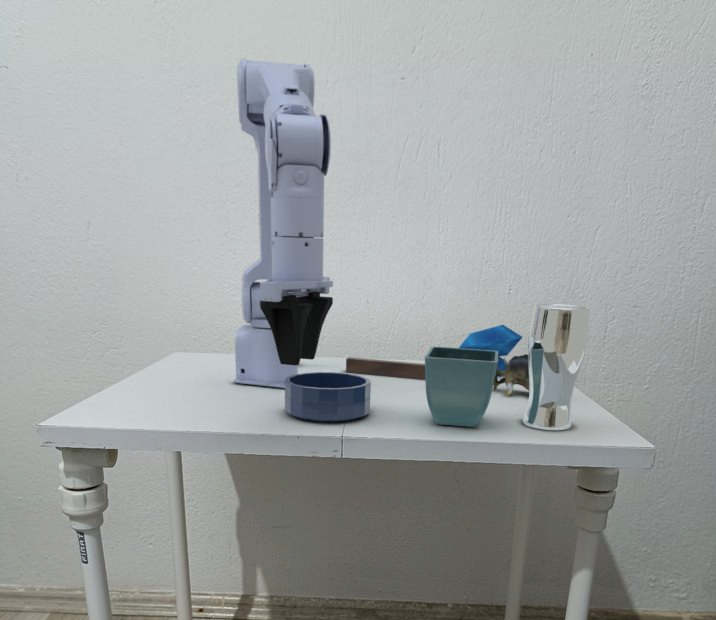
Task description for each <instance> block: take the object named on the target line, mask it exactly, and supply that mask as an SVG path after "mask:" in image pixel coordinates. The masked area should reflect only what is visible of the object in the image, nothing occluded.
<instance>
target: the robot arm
mask: <svg viewBox="0 0 716 620" xmlns="http://www.w3.org/2000/svg"><path fill="white" fill-rule="evenodd" d="M236 69H237V70H236V71H237V73H236V77H237V78H236V80H237V81H236V83H237V88H236V89H237V107H238V122H239V124H240V130H241V131H243V132H244V133H246V134H247V135H249V136H251V137H252V138H253V142H254V145H255V148H256V152H257V177H258V179H257V181H258V184H257V185H258V224H259V225H258V228H259V229H258V231H259V232H258V233H259V234H258V235H259V237H258V238H259V258H258V259H257V260H256V261H254V262H253V263H252V264H251V265H249V266H247V267H246V269H244V272H243V274H242V276H241V279H242V281H241V282H242V284H241V312H242V320H243V321H244V322H245V323H246V324H242V325H241V326H240V327H239V328H238V329H237V331H236V335H235V339H234V350H235V351H234V354H235V355H234V357H235V379H233V383H235V384H243V385H244V384H245V385H253V386H262V387H272V388H280V389H281V388H282V389H285V378H286V377H289V376H291V375H295V374H299V365H300V362H301V360H311V361H312V360H314V359H315V357H316V354H317V351H318V346H319V342H320V337H321V332H322V329H323V326H324V323H325V321H326V318H327V316H328V313H329V311H330V309H331V308H332V306H333V302H334V298H333V297H332V296H321V294H322V295H329V294H330V288H333V286H334V281H333V280H331V279H330V277H329V276H324V236H325V235H324V227H325V225H324V224H325V221H324V220H325V177H326V176H327V174H328V173H329V172H328V171H329V166H330V161H331V153H332V135H331V134H332V133H331V127H330V121H329V117H328V115H327V114H325V113H324V114H319V115H317V114H316V113H315V110H314V103H315V73H314V70H313V68H312V67H311V65H310V64H309V63H304V64H297V63H285V62H274V61H273V62H271V61H262V60H247V59H246V58H240V60H239V61H238V63H237V67H236ZM260 280H265V281H260Z"/></svg>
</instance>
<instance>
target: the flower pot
mask: <svg viewBox="0 0 716 620" xmlns="http://www.w3.org/2000/svg"><path fill="white" fill-rule="evenodd" d="M424 364H425V380H424V381H425V395H426V402H427V405H428V408H429V412H430V414H431V416H432V418H433V420H434V422H435V423H436V424H437V425H440V426H443V425H444V426H445V425H446V426H455V427H456V426H457V427H467V428H475V427H477V426H478V424H479V423H480V422H481V420H482V419H483V417H484V415H485V414H486V411H487V409H488V406H489V404H490V401H491V398H492V393H493V390H494V389H493V387H494V385H493V384H494V379H495V374H496V369H497V365H498V351H493V350H477V349H461V348H459V347H448V346H447V347H446V346H431V347H430V348H429V350H428V352H427V353H426V354H425V356H424Z"/></svg>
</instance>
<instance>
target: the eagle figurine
mask: <svg viewBox="0 0 716 620" xmlns="http://www.w3.org/2000/svg"><path fill="white" fill-rule="evenodd" d="M503 359H504V362H505V364H506V366H507V369H506V370H501V371H499V368H498V367H497V369H496V374H495V379H494V384H493V389H492V390H494V391H496V390H497V389H498V386H500V385H502V384H505V387H506V397H509V396H510V394H512V393H513V389H514V385H519V386H522V387H523V388H525V390H527V391H528V392H529V369H528V354H526V353H525V354H523V355H514V356H513V357H512V358H510V360H508V361H507V360H506V357H503ZM507 362H508V363H509V364H508V363H507ZM497 375H499V376H503V377H502V378H501V379H499V380H498V376H497Z"/></svg>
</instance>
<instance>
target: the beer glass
mask: <svg viewBox="0 0 716 620" xmlns="http://www.w3.org/2000/svg"><path fill="white" fill-rule="evenodd" d="M589 316H590V307H588V306H584V305H575V304H563V303H562V304H561V303H538V304H535V305H534V308H533V312H532V317H531V322H530V323H531V324H530V328H529V336H528V344H527V345H528V346H527V355H528V369H529V391H528V392H529V393H528V399H527V400H528V401H527V404H526V408H525V411H524V414H523V418H522V423H523V424H524V425H525V426H527V427H529V428H532V429H538V430H542V431H543V430H544V431H565V430H569V429H570V428H571V426H572V413H571V408H572V407H571V406H572V398H573V392H574V389H575V386H576V383H577V380H578V377H579V374H580V371H581V368H582V365H583V361H584V357H585V353H586V348H587V342H588V333H589V319H590V317H589Z"/></svg>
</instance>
